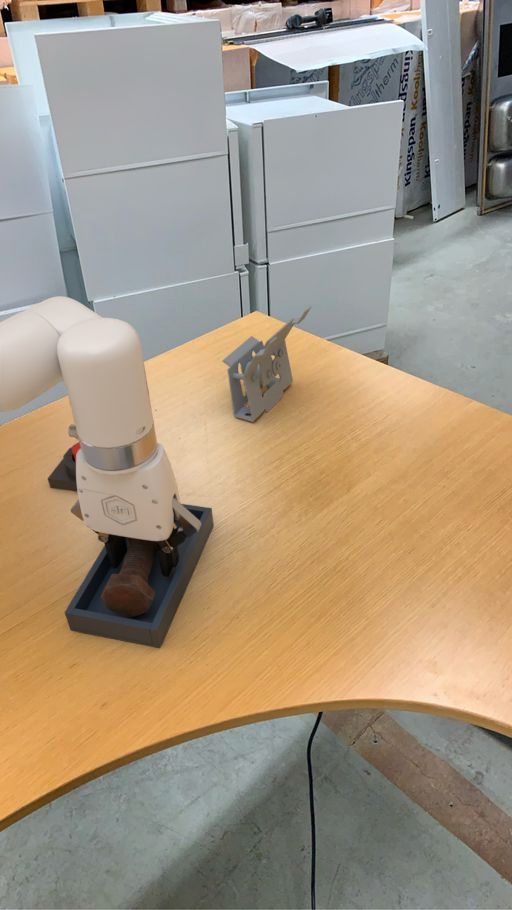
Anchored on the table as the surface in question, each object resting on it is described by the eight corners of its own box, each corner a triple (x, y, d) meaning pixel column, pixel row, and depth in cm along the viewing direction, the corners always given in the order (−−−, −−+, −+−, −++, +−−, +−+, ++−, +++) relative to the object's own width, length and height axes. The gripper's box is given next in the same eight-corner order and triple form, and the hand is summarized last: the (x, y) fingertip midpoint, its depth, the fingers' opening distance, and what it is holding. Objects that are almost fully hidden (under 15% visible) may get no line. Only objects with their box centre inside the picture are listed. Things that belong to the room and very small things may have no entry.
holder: (70, 630, 72) (64, 612, 70) (137, 514, 86) (133, 496, 85) (160, 648, 70) (156, 630, 68) (213, 525, 84) (211, 507, 82)
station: (50, 487, 91) (44, 468, 89) (76, 453, 98) (71, 434, 95) (109, 496, 89) (104, 476, 87) (132, 460, 96) (128, 441, 93)
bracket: (273, 430, 100) (270, 342, 91) (219, 413, 104) (211, 328, 95) (310, 389, 109) (311, 305, 100) (259, 376, 113) (255, 294, 104)
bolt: (165, 531, 84) (137, 624, 72) (128, 516, 83) (94, 608, 71) (183, 502, 81) (157, 594, 69) (145, 485, 80) (113, 576, 68)
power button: (70, 463, 91) (67, 453, 90) (81, 448, 93) (79, 438, 92) (93, 466, 90) (91, 456, 89) (104, 451, 93) (102, 441, 92)
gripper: (23, 452, 65) (63, 575, 76) (187, 475, 61) (204, 600, 72) (59, 410, 71) (92, 530, 82) (211, 429, 67) (223, 552, 78)
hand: (144, 562), depth 77 cm, fingers closed on bolt, 5 cm apart
